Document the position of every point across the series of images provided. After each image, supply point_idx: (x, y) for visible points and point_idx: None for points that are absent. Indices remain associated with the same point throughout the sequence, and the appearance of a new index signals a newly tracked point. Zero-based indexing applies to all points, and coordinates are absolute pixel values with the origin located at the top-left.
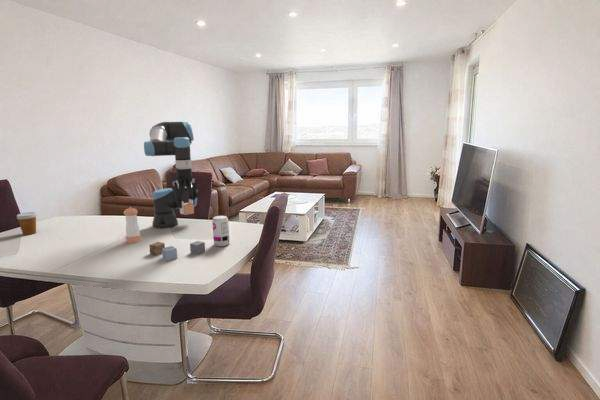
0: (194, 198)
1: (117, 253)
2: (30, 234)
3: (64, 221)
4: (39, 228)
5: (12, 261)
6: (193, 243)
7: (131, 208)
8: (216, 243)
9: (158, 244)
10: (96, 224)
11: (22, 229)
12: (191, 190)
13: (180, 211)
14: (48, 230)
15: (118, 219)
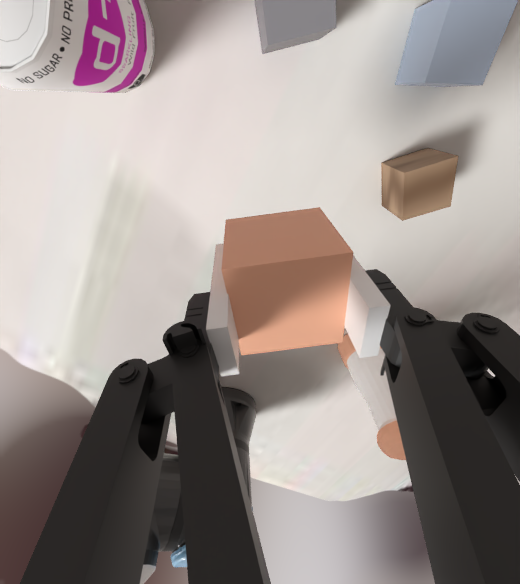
0: (182, 336)
1: (461, 276)
2: None
3: (353, 486)
4: (400, 474)
5: None
6: (321, 2)
7: None
8: (142, 2)
9: (433, 174)
10: (329, 462)
11: None
12: (208, 513)
13: None
14: (401, 464)
15: (282, 470)
